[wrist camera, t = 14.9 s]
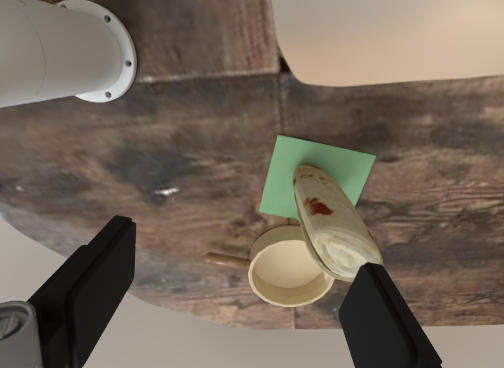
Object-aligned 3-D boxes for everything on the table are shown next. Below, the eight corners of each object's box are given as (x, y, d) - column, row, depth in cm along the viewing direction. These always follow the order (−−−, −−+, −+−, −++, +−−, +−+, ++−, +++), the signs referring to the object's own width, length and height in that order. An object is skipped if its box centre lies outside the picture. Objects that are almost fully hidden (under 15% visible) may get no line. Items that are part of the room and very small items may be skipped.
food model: (347, 183, 44) (409, 267, 26) (318, 210, 46) (357, 305, 28) (303, 147, 42) (339, 212, 23) (275, 177, 44) (288, 258, 26)
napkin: (258, 211, 47) (258, 211, 47) (277, 134, 41) (277, 134, 41) (345, 227, 48) (345, 228, 48) (375, 155, 42) (376, 155, 42)
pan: (242, 281, 54) (241, 299, 50) (258, 218, 48) (258, 232, 43) (315, 294, 55) (319, 312, 51) (340, 233, 49) (347, 249, 44)
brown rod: (205, 257, 48) (203, 264, 46) (206, 249, 47) (204, 256, 46) (250, 265, 49) (250, 272, 47) (252, 257, 48) (252, 264, 46)
